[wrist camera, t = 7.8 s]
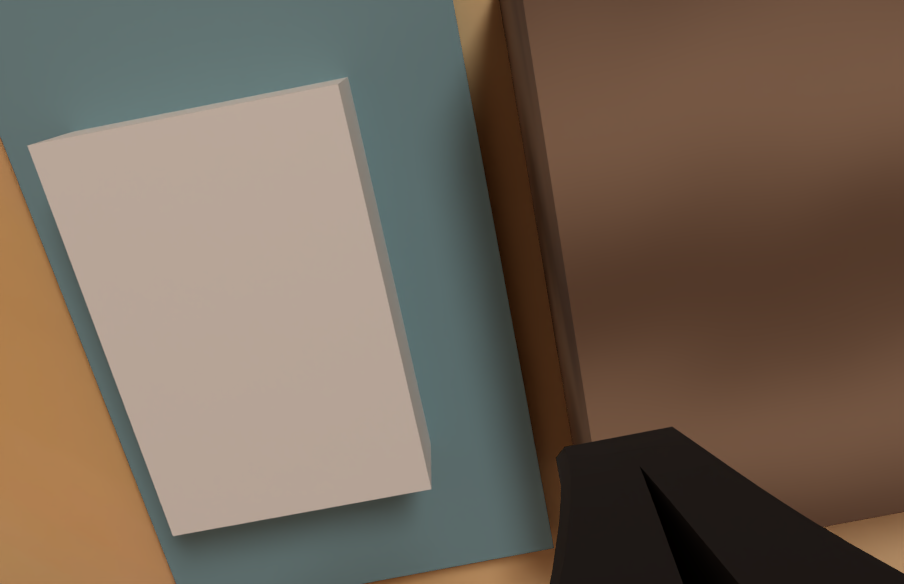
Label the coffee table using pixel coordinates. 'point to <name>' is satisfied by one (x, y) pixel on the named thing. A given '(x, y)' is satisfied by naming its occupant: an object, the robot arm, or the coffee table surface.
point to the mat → (405, 232)
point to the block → (245, 303)
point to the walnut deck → (726, 230)
